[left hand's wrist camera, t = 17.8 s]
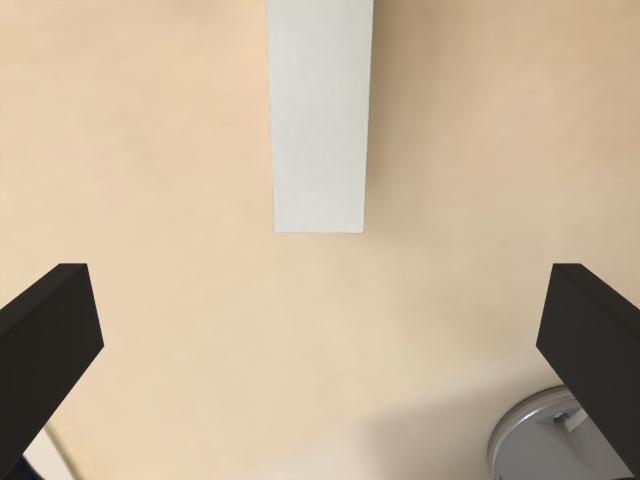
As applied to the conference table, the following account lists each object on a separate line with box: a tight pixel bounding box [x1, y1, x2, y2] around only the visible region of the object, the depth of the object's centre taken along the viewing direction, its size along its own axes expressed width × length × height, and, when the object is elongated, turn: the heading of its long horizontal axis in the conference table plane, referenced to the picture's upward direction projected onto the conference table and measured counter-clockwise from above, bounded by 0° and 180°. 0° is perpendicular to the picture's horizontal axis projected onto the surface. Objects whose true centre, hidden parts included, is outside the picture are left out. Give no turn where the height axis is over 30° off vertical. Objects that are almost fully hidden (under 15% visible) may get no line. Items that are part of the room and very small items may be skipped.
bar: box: [266, 0, 374, 233], centre depth 27 cm, size 23×5×9 cm, turn 0°
